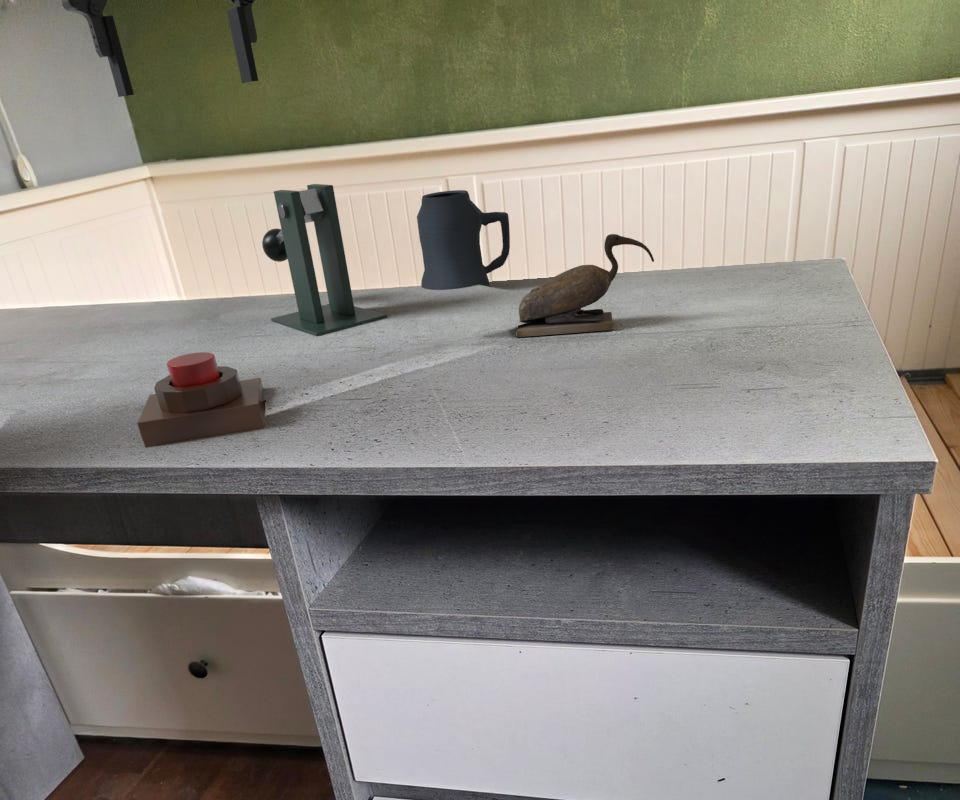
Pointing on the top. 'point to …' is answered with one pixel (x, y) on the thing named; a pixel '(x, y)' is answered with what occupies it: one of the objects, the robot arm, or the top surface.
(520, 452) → the top surface
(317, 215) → the lever
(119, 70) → the robot arm
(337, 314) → the bracket
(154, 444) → the button block
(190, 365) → the button
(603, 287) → the figurine
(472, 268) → the mug
